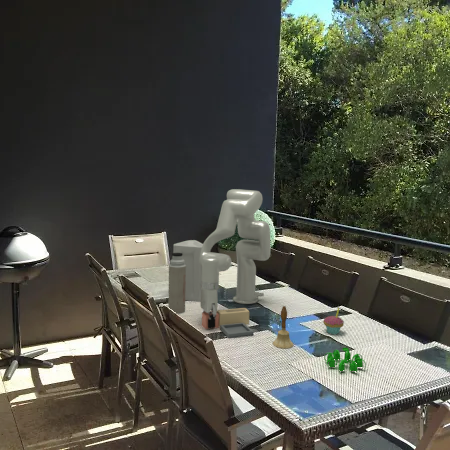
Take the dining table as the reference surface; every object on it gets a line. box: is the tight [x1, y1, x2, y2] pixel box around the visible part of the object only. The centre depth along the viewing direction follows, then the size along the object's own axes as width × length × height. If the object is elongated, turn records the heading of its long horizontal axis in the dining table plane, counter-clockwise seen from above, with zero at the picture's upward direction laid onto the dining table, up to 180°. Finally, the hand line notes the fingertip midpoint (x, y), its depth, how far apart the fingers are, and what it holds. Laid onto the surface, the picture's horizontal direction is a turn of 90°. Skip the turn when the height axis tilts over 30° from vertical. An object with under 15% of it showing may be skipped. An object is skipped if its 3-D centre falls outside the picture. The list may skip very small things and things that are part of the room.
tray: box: [219, 323, 254, 339], centre depth 215 cm, size 11×11×2 cm
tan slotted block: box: [217, 307, 250, 328], centre depth 225 cm, size 14×5×6 cm, turn 111°
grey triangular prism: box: [172, 239, 203, 303], centre depth 261 cm, size 19×15×28 cm
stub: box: [201, 311, 220, 330], centre depth 221 cm, size 6×5×6 cm
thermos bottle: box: [167, 252, 186, 314], centre depth 239 cm, size 8×8×28 cm
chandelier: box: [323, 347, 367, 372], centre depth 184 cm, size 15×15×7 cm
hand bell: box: [272, 305, 294, 350], centre depth 202 cm, size 8×8×16 cm
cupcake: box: [322, 306, 345, 335], centre depth 217 cm, size 9×8×12 cm
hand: (209, 324), depth 221 cm, fingers open, 5 cm apart
